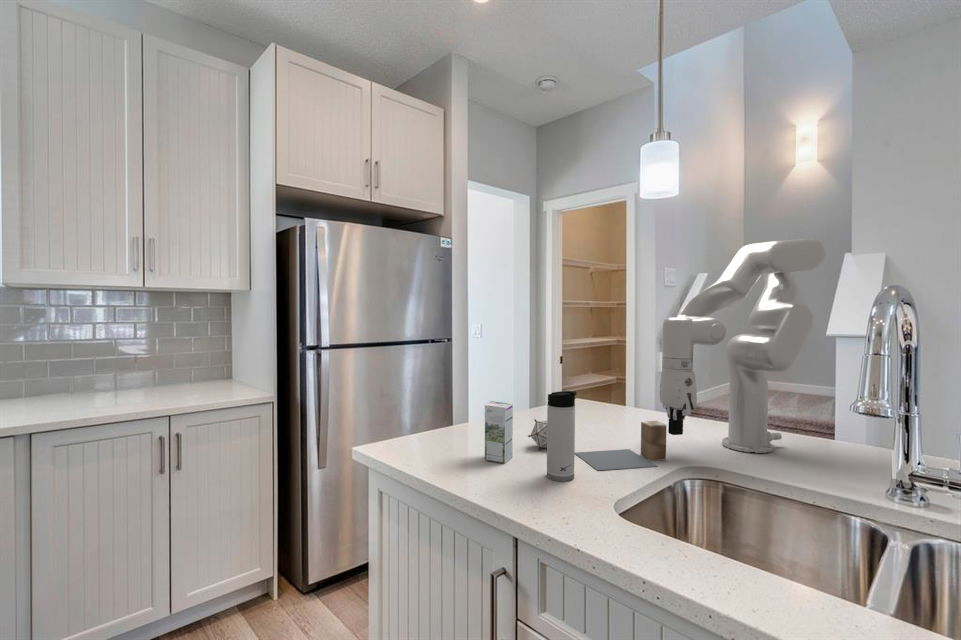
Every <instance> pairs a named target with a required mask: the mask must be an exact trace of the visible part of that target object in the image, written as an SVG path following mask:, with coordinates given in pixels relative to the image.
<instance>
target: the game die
mask: <svg viewBox="0 0 961 640" xmlns="http://www.w3.org/2000/svg"><path fill="white" fill-rule="evenodd" d="M534 422H535V424H534V426H533V428H532V431H531V433H530V434H528V435H527V437H528V438H531V439H533V441H534V443H535V444H536V445H537V446H538V451H541V449H542V448H547V420H539V421H538V420H537V419H536V418H534Z"/></svg>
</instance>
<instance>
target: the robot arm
mask: <svg viewBox="0 0 961 640" xmlns="http://www.w3.org/2000/svg"><path fill="white" fill-rule="evenodd" d="M825 258H826V248H825V245H824V244H823V243H822V242H821V241H820V240H818V239H816V238H812V237H810V238H799V239H789V240H772V241H771V240H770V241H765V242H763V241H762V242H755V243H750V244H746V245H744V246H743V247H741V248H740V249H738V250H737V252H736V253H735V255H734V257H733V258H732V259H731V260H730V261H729V263H728V265H727V266H726V267H725V269H724V270H723V272H722V273H721V274H720V276H719V277H718V279H717V280H716V281H715V282H714V283H713V284H711V285H710V286H708V287H706V288H705V289H704V290H702V291H701V292H699V293H698V294H696V295H695V296H694V297H692V298H691V299H690V300H689V301H687V303H686V304H685V305H684V306H683V307H682V309H681V310H680V312H679V313H678V314H677V316H676V317H666V318H664V321H663V325H662V327H663V328H662V352H661V353H662V357H661V358H662V362H661V364H662V365H661V374H660V386H659V402H660V403H661V404H662V408H664V409H665V410H666V414H667V418H668V427H667V429H668V430H667V431H668V434H670V435H673V436H681V435H683V434H684V420H685V418H686V416H691V415H692V410H696V409H697V407H698V406H697V400H698V399H697V398H698V397H697V394H698V393H697V382H696V381H697V380H696V374H695V371H694V348H695V346H694V345H699V346H706V347H707V346H708V347H710V346H712V347H713V346H715V345H718V344H719V343H721V342H722V341H724V339H725V337H726V335H727V330H726V329H727V328H726V326H725V323H723V321H721V320H720V319H719V318H718V319H717V318H716V317H711V315H712V314H714V313H716V312H718V311H720V310H723V309H726V308H729V307H732V306H734V305H737V304H738V303H740V302H743V301H744V300H745V299H746V298H747V296H748V295H749V293H750V292H751V290H752V289H753V288H754V286H755V285H756V284H757V282H758V281H759V280H760V278H761V276H764V287H763V290H762V291H761V293H760V296H759V297H758V299H757V301H756V302H755V305H754V307H753V308H752V311H751V312H750V314H749V317H748V320H747V326H748V328H749V329H750V330H751V331H752V332H753V333H742V334H741V333H740V334H737V335H735V336H732V338H730V340H728V343H727V344H726V348H725V349H726V350H725V353H726V360H727V365H728V371H729V390H728V391H729V392H728V393H729V394H728V396H729V398H728V429H727V430H728V434H727V437H724V438H722V441H721V444H722V445H723V446H724V447H726V448H727V449H730V448H731V450H734V451H737V452H738V451H739V452H743V451H744V453H750V452H755V453H754V454H767V452H768V453H771V452H774V445H773V444H772V443H771V442H772V441H778V440H779V441H780V440H782V439H783V437H782V436H783V435H782V434H781V433H780V432H772V433H771V432H770V431H768V419H769V416H768V414H769V412H768V410H769V383H768V379H767V376H766V374H765V372H772V373H785V372H787V371H788V370H790V369H791V368H792V367H793V366H794V365H795V362H796V361H797V360H798V358H799V355H800V354H801V352H802V350H803V348H804V346H805V344H806V343H807V340H808V339H809V337H810V334H811V332H812V329H813V325H814V315H813V312H812V310H811V308H810V307H809V306H808V305H806V304H805V303H802V302H797V301H796V300H797V297H798V294H799V288H798V286H797V283H796V282H795V279H794V277H793V276H792V273H796V272H797V273H798V272H803V271H812V270H815V269H818V267H820V266H821V265H822V264H823V262H825ZM754 333H755V334H754Z"/></svg>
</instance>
